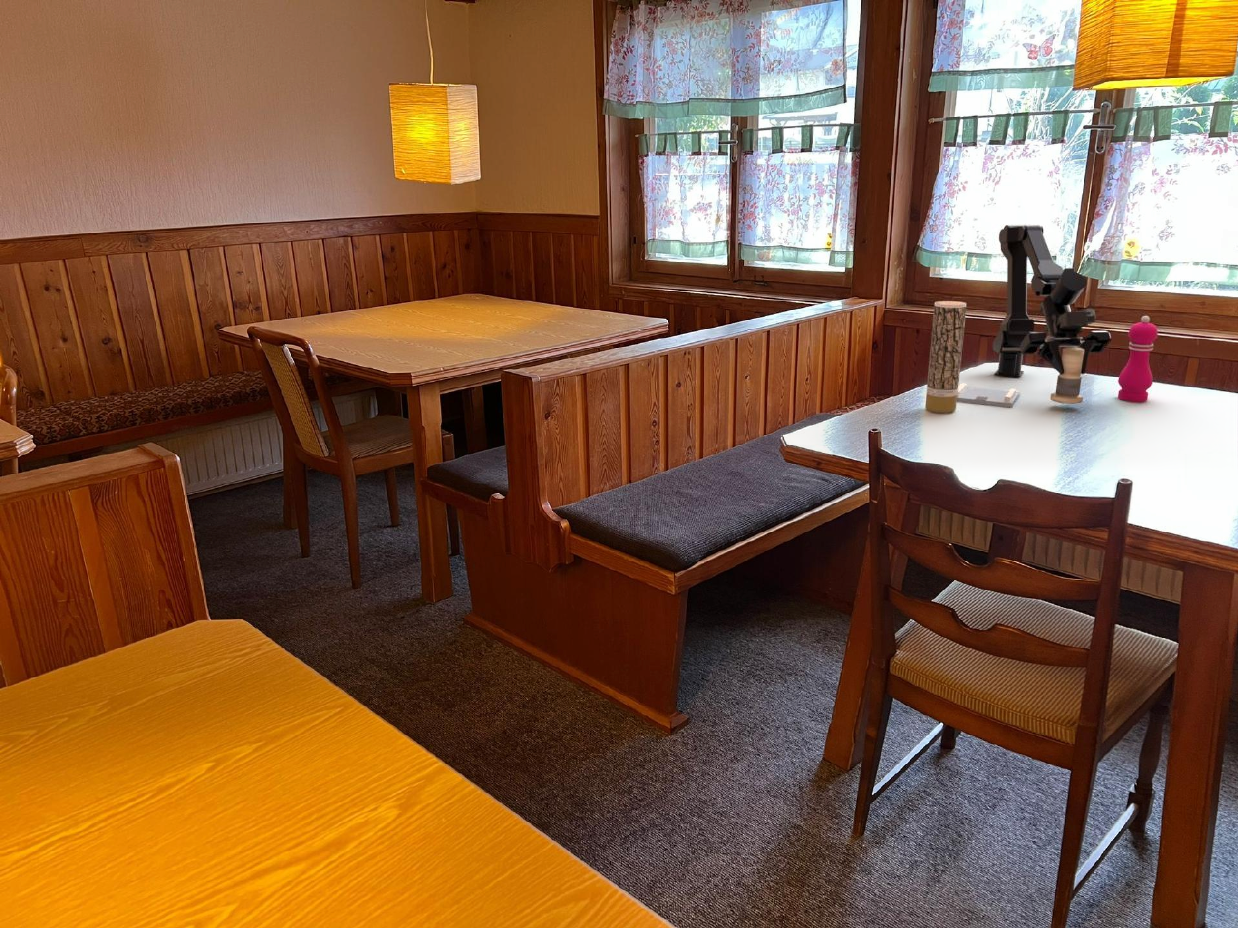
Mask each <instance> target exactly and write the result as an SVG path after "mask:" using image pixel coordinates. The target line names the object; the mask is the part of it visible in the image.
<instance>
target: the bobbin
mask: <svg viewBox="0 0 1238 928" xmlns="http://www.w3.org/2000/svg"><path fill="white" fill-rule="evenodd" d="M1083 356H1084V349H1082V348H1076V347H1075V346H1065V347H1064V348H1062V354H1061V360H1062V363H1063V367H1064V374H1063V375H1061V374H1060V373H1059V374H1058V375H1057V379H1056V386H1055V392H1053V393H1052V392H1051V394H1050V400H1051V401H1052V402H1055V403H1060V404H1066V405H1067V404H1068V405H1069V404H1070V405H1075V404H1082V403H1083V402H1084V396H1083V395H1082V394H1080V391H1081V385H1082V378H1083V377H1082V376H1081V375H1082V374H1081V370H1082V363H1083Z"/></svg>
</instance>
